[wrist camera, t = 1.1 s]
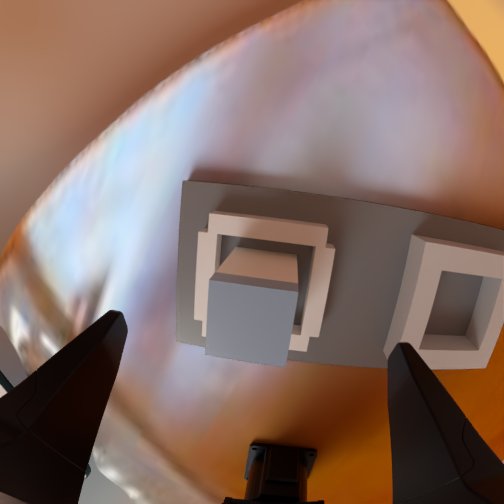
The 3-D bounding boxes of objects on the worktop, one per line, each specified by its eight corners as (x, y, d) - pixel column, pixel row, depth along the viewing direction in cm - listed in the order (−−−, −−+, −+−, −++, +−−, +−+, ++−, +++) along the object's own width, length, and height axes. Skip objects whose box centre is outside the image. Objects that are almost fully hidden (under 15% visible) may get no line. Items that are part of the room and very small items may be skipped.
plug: (288, 310, 21) (285, 367, 15) (231, 302, 22) (205, 354, 15) (296, 254, 20) (298, 292, 14) (235, 246, 21) (209, 279, 14)
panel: (474, 363, 22) (490, 383, 18) (180, 335, 24) (164, 357, 21) (513, 232, 19) (538, 240, 15) (187, 180, 21) (168, 181, 18)
